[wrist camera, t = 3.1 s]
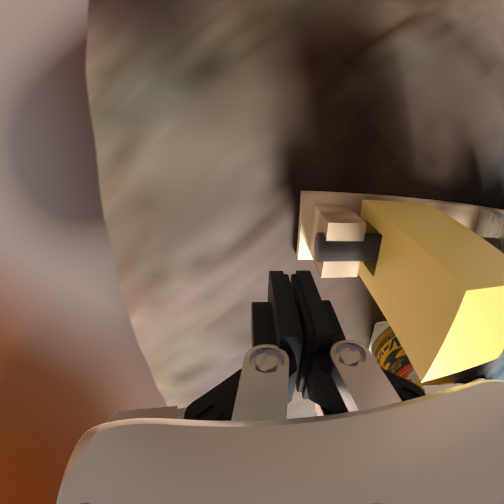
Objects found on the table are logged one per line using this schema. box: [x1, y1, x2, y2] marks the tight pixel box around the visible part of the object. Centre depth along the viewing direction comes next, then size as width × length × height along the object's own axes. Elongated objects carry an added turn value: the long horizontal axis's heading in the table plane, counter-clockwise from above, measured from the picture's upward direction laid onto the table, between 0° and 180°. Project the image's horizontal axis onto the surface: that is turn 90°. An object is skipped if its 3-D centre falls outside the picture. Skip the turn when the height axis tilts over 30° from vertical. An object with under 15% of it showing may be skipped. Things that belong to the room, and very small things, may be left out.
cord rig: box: [296, 191, 504, 278], centre depth 19 cm, size 24×5×5 cm, turn 89°
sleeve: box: [358, 199, 504, 383], centre depth 14 cm, size 6×5×11 cm
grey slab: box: [474, 206, 504, 253], centre depth 18 cm, size 2×5×6 cm, turn 179°
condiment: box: [369, 321, 456, 388], centre depth 21 cm, size 7×8×12 cm
